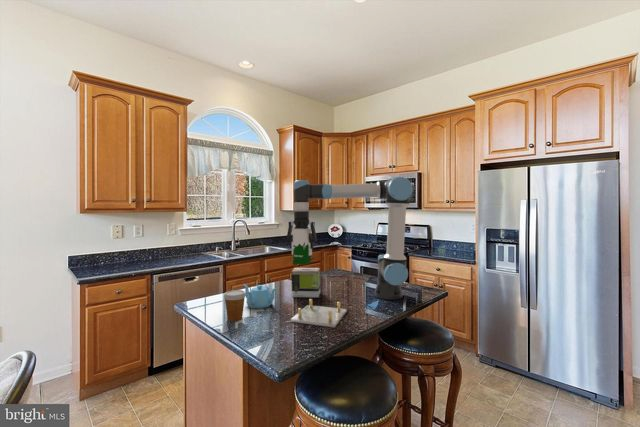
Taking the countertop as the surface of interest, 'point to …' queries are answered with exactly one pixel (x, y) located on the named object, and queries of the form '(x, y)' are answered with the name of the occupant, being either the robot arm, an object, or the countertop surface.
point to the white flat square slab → (319, 315)
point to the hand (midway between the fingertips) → (301, 254)
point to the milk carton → (301, 246)
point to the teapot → (259, 297)
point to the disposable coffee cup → (234, 304)
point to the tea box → (305, 282)
